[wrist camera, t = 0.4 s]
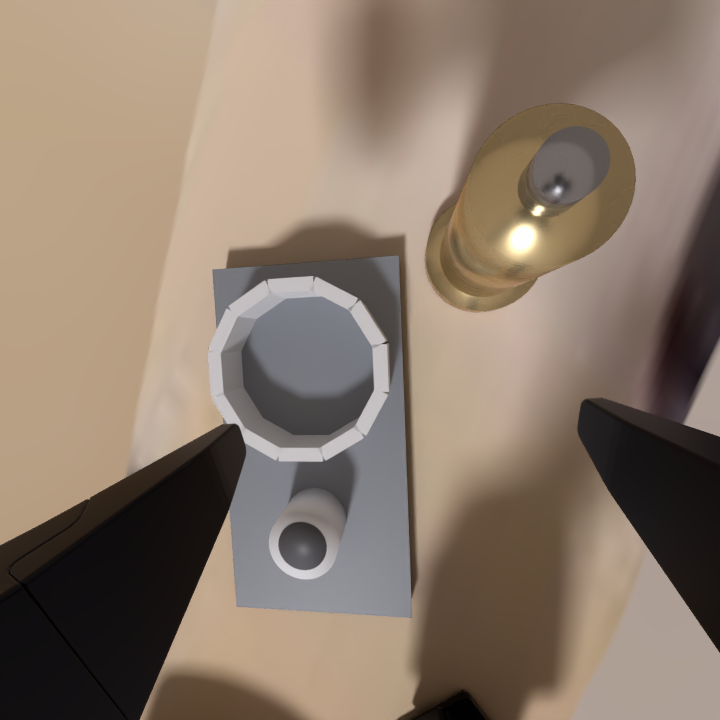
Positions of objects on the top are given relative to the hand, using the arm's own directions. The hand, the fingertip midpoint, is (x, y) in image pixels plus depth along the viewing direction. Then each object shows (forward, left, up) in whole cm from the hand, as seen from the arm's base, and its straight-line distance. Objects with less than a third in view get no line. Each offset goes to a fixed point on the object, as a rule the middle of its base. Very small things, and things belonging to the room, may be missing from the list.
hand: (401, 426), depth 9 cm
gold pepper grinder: (+3, -8, -13) cm, 16 cm away
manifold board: (0, +7, -13) cm, 15 cm away
